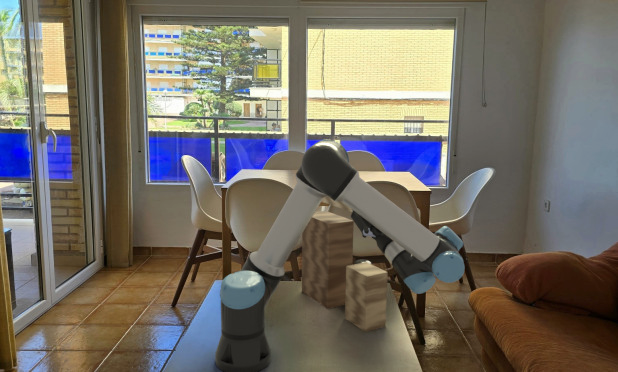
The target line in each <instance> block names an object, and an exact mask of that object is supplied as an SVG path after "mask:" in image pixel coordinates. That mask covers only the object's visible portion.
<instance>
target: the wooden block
mask: <svg viewBox="0 0 618 372" xmlns="http://www.w3.org/2000/svg"><path fill="white" fill-rule="evenodd" d="M321 203H324V204H327V205H330V206H333V207H336V208H340V209H342V210H344V211H348V212H350V213H352V212H353V210H352V209H351V208H350V207H348V206H347V205H346V204H344V203H343V202H342V201H337V202H335V201H334V200H332V199H331V198H330V197H324V198H323V199H322V201H321Z"/></svg>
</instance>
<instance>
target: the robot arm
mask: <svg viewBox="0 0 618 372" xmlns="http://www.w3.org/2000/svg"><path fill="white" fill-rule="evenodd" d="M295 179H296V184H295V186H294V187H293V189H292V191H291V192H290V194H289V196H288V198H287V200H286V201H285V203H284V205H283V206H282V208H281V210H280V212H279V214H278V215H277V217H276V219H275V220H274V222H273V224H272V226H271V228H270V229H269V231H268V233H267V235H266V236H265V238H264V239H263V242H262V243H261V245H260V247H259V249H258V250H256V251H253V252H250V254H249V256H248V257H247V259H246V260H245V262H244V264H243V266H242V268H241V270H238V271H235V272H233V273H229V274H228V275H226V276H225V277H224V278H223V280H222V281H221V283H220V290H219V299H220V323H221V325H220V327H221V331H220V332H221V334H220V338H219V340H218V343H217V348H216V350H215V355H214V356H215V357H214V358H215V359H214V361H215V366H216V368H217V369H219V370H221V371H222V372H260V371H262V370H263V369H265V368H267V366H269V364H271V360H272V348H271V346H270V344H269V340H268V338H267V335H266V333H265V328H266V325H265V324H266V323H265V319H266V318H265V317H266V316H265V313H266V312H265V311H266V307H267V305H268V303H269V301H270V300H271V297H272V296H273V294H274V293H275V292H276V290H277V288H278V286H279V284H280V283H281V281H282V279H283V277H284V275H285V273H286V270H285V266H284V265H285V264H286V262H287V260H288V259H289V257H290V255H291V253H292V252H293V250H294V249H295V246H296V245H297V243H298V242H299V240H300V238H302V233H303V232H304V230H305V228H306V226H307V225H308V223H309V221H310V220H311V218H312V216H313V215H314V213H315V212H317V209H318V208H319V206H320V204H321V203H322V202H321V201H322V199H323V198H324V197H330V198H331V199H332V200H334V201H335V202H337V201H342V202H343V203H344V204H346V205H347V206H348V207H350V208H351V209H352V210H353V212H351V215H350V218H351V220H353V221H354V224H355V225H356V226H357V228H358V230H359V231H360V232H361V235H362V236H361V237H363V238H365V239H366V238H367V237H370V238H371V239H373V240H374V241H375V242H376V245H377V247H378V249H379V250H380V252H381V253H382V254H383V255H384V257H385V258H386V259H387V260H388V262H389V264H391V266H392V267H393V269H395V271H396V272H397V274H398V276H400V278H401V279H402V281H403V283H404V284H406V286H407V287H408V288H409V289H410V291H412V293H414V294H418V295H419V294H424V293H426V292H427V291H429V290H430V289H431V288H433V286H434V285H435V284H436V281H437V280H436V278H437V279H438V280H439V281H441V282H443V283H445V284H446V283H447V284H448V283H449V284H450V283H456V282H457V281H459V280H460V279H461V278H462V277H463V276H464V273H465V266H466V265H465V263H464V259H463V257H462V255H461V254H460V253H459V252H460V250H461V248H463V247H464V241H463V239H461V238H460V237H459V236H458V234H456V232H455V231H453V230H452V228H450V227H449V226H447V225H444V226H442V227H440V228H438V230H436V231H435V232H434V233H433V232H432V231H431V230H429V229H428V228H427V227H425V225H423V224H422V223H420V222H419V221H417V220H416V219H415V218H414V217H412V216H411V215H410V214H408V213H407V212H406V211H405V210H403V209H401V208H400V207H399V206H398V205H397V204H395V203H394V202H393V201H391V200H390V199H389V198H387V197H386V196H385V195H384V194H383V193H381V192H379V190H378V189H376V188H375V187H374V186H372V185H370V184H369V183H368V182H366V181H365V180H364V179H363V178H361V177H360V171H359V170H357V169H356V168H355V167H353V165H351V164H350V159H349V153H348V152H347V150H346V149H345V147H344V146H343V145H342V144H341V143H339V142H338V141H335V140H334V139H322V140H318V141H316V142H315V143H314V144H313V145H311V146H310V147H308V148H307V149H306V151H305V153H303V155H302V158H301V163H300V166H299V168H298V170H297V171H296V173H295Z"/></svg>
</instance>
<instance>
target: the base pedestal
mask: <svg viewBox="0 0 618 372" xmlns="http://www.w3.org/2000/svg"><path fill="white" fill-rule="evenodd" d="M387 292H388V271H386V270H383V269H381V268H379V267H377V266H375V265H374V264H372V263H371V264H369V263H367V262H364V263H359V264H355V263H354V264H352V265H349V266H346V297H345V305H344V319H345V320H346V321H348V322H350V323H351V324H352V325H354V326H356V327H358V329H360V330H362V331H363V332H365V333H367V332H370V331H374V330H377V329H380V328H384V327H386V324H387V323H386V321H387V296H388V295H387V294H388V293H387Z"/></svg>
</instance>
